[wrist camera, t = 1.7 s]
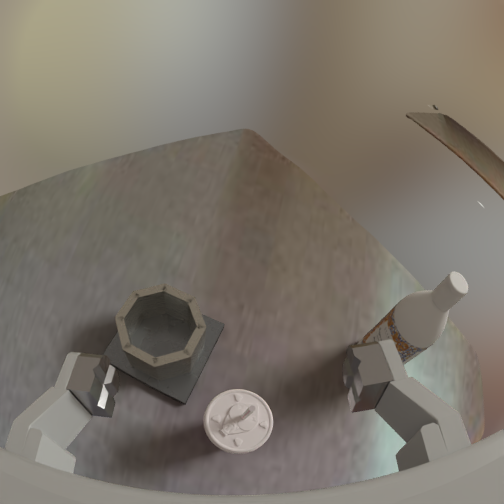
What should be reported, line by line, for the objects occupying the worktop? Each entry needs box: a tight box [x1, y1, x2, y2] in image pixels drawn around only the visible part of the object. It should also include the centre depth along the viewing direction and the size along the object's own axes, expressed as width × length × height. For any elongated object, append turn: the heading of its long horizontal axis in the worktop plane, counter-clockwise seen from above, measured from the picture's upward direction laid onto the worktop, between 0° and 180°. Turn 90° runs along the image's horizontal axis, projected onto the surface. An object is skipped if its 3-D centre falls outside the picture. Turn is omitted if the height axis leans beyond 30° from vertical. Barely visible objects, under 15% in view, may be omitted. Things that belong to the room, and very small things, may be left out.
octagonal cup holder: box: [103, 284, 224, 404], centre depth 36 cm, size 12×12×6 cm
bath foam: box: [358, 272, 468, 365], centre depth 34 cm, size 7×7×20 cm
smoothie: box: [203, 389, 273, 454], centre depth 27 cm, size 6×6×14 cm
